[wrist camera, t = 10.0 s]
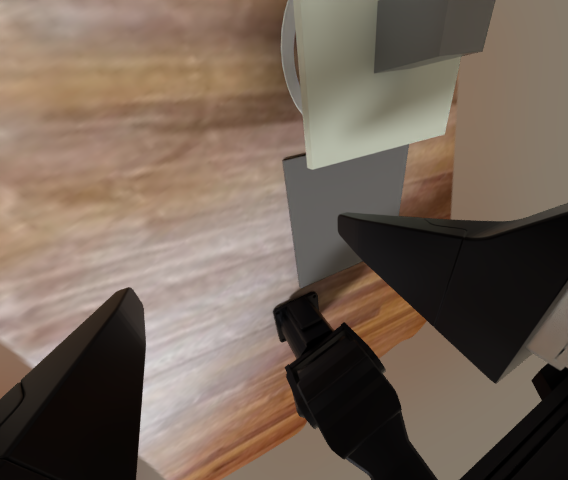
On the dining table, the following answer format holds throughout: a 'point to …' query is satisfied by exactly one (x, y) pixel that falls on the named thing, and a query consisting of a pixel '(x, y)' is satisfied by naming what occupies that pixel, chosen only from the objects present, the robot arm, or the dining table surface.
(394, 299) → the dining table surface
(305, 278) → the mat
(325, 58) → the lid
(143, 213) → the dining table surface
